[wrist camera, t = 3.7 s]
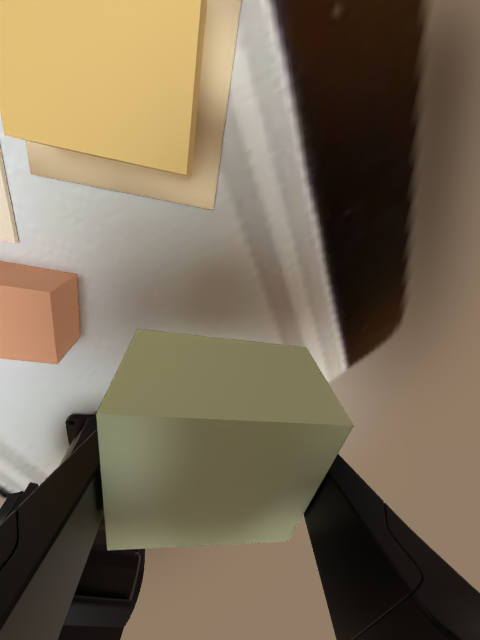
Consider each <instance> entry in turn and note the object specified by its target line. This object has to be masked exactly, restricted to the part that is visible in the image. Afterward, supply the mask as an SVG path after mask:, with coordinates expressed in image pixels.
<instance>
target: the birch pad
mask: <svg viewBox="0 0 480 640" xmlns="http://www.w3.org/2000/svg"><path fill="white" fill-rule="evenodd" d="M240 5H241V0H207V12H206V23H205V34H204V45H203V56H202V67H201V78H200V89H199V99H198V110H197V121H196V132H195V143H194V154H193V165H192V176H191V177H186V176H182V175H177V174H173V173H168V172H164V171H159V170H154V169H150V168H145V167H141V166H136V165H132V164H127V163H122V162H118V161H113V160H109V159H104V158H100V157H95V156H90V155H86V154H81V153H77V152H72V151H68V150H63V149H58V148H54V147H50V146H46V145H42V144H38V143H34V142H30V141H26V146H27V153H28V159H29V165H30V172H31V174H33V175H38V176H43V177H48V178H53V179H58V180H63V181H68V182H73V183H79V184H84V185H89V186H94V187H99V188H104V189H109V190H114V191H119V192H124V193H129V194H134V195H139V196H144V197H149V198H154V199H159V200H164V201H170V202H175V203H180V204H185V205H190V206H195V207H200V208H205V209H210V210H213V209H214V201H215V194H216V186H217V179H218V171H219V163H220V156H221V148H222V141H223V133H224V126H225V118H226V111H227V103H228V96H229V88H230V81H231V73H232V65H233V58H234V50H235V43H236V35H237V28H238V20H239V13H240Z"/></svg>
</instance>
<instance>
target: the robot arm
mask: <svg viewBox="0 0 480 640" xmlns="http://www.w3.org/2000/svg"><path fill="white" fill-rule="evenodd" d="M66 428H67V434H68V440H69V448H68V450H67V452H66V454H65V456H64V458H63V460H62V462H61V464H60V465H59V467H58V468H57V469H56V470H55V471H54V472H53V473H52V474H51V475H50V476H49V477H48V478H47V479H46V480H45V481H44V482H43V483H42V484H41V485H40V486H38V484H36V483H32V482H30V483H29V485H28V487H27V488H26V490H25V491H24V492H23V491H21V492H18V493H12V494H9V496H8V498H7V499H6V501H5V502H4V504H3V505H2V507H1V509H0V640H120V638H121V635H122V631H123V628H124V626H125V625H126V623H127V621H128V620H129V618H130V615H131V614H132V612H133V610H134V607H135V604H136V601H137V598H138V595H139V592H140V588H141V583H142V579H143V573H144V563H145V549H125V550H107V542H106V529H105V517H104V504H103V492H102V479H101V467H100V454H99V442H98V429H97V417H96V416H82V415H71V416H69V417H68V418H67V420H66ZM304 517H305V521H306V525H307V529H308V533H309V536H310V540H311V544H312V548H313V552H314V555H315V559H316V563H317V567H318V571H319V575H320V578H321V582H322V586H323V590H324V593H325V597H326V601H327V605H328V609H329V613H330V616H331V620H332V624H333V628H334V632H335V636H336V639H337V640H480V593H479V592H478V591H477V590H476V589H475V588H474V587H472V586H471V585H470V584H469V583H468V582H467V581H466V580H465V579H464V578H463V577H462V576H460V575H459V574H458V573H457V572H456V571H455V570H454V569H453V568H452V567H451V566H450V565H449V564H448V563H446V562H445V561H444V560H443V559H442V558H441V557H440V556H439V555H438V554H437V553H436V552H435V551H433V550H432V549H431V548H430V547H429V546H428V545H427V544H426V543H425V542H424V541H423V540H422V539H421V538H420V537H419V536H418V535H417V534H416V533H414V532H413V531H412V530H411V529H410V528H409V527H408V526H407V525H406V524H405V523H404V522H403V521H402V520H401V519H400V518H399V517H398V516H397V515H396V514H395V513H394V511H393V510H392V509H391V508H390V507H389V506H388V505H387V504H386V503H384V502H383V500H382V499H381V498H380V497H379V496H378V495H377V494H376V493H375V492H374V491H373V490H372V489H371V488H370V487H369V486H368V485H367V484H366V482H365V481H364V480H363V479H362V478H361V477H360V476H359V475H358V474H357V473H356V472H355V471H354V470H353V469H352V468H351V467H350V466H349V465H348V464H347V463H346V462H345V461H344V460H343V458H342V457H340V456H339V454H337V456H336V458H335V460H334V461H333V463H332V465H331V467H330V468H329V470H328V472H327V474H326V475H325V477H324V479H323V481H322V482H321V484H320V486H319V488H318V489H317V491H316V493H315V495H314V496H313V498H312V500H311V501H310V503H309V505H308V507H307V508H306V510H305V512H304Z"/></svg>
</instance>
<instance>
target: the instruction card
mask: <svg viewBox="0 0 480 640" xmlns="http://www.w3.org/2000/svg"><path fill="white" fill-rule="evenodd" d="M0 241H5V242H11V243H18V242H19V240H18V235H17V230H16V225H15V220H14V215H13V210H12V205H11V199H10V194H9V189H8V184H7V179H6V174H5V169H4V164H3V159H2V154H1V149H0Z"/></svg>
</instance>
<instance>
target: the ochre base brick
mask: <svg viewBox="0 0 480 640" xmlns="http://www.w3.org/2000/svg"><path fill="white" fill-rule="evenodd" d="M206 12H207V0H0V112H1V118H2V123H3V128H4V134H5V135H6V136H10V137H14V138H18V139H22V140H26V141H30V142H34V143H38V144H42V145H46V146H50V147H54V148H58V149H63V150H68V151H72V152H77V153H81V154H86V155H90V156H95V157H100V158H104V159H109V160H113V161H118V162H122V163H127V164H132V165H136V166H141V167H145V168H150V169H154V170H159V171H164V172H168V173H173V174H177V175H182V176H186V177H191V176H192V165H193V154H194V143H195V132H196V121H197V110H198V99H199V89H200V78H201V67H202V56H203V45H204V34H205V23H206Z"/></svg>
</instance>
